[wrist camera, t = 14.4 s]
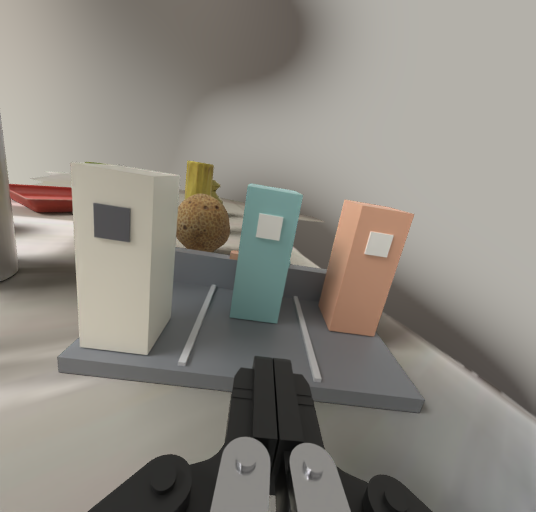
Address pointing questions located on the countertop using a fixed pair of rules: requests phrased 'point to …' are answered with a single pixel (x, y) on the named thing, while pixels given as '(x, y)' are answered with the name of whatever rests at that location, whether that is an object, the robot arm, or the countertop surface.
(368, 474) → the countertop surface
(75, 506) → the countertop surface
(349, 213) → the key terracotta
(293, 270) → the grey divided tray
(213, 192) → the olive glossy tiered piece
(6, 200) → the robot arm
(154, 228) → the key cream
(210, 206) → the natural sponge
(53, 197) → the plant saucer
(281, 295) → the key teal
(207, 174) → the vase
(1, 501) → the countertop surface
